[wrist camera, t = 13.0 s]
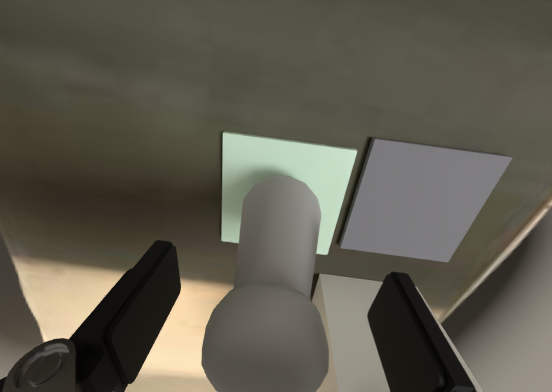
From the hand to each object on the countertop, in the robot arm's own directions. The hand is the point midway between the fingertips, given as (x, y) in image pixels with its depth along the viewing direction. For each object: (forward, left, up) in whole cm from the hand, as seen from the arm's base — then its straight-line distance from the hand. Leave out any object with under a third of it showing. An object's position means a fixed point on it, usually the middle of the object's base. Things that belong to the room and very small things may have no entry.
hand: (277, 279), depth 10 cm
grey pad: (0, +11, -10) cm, 15 cm away
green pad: (+1, 0, -10) cm, 10 cm away
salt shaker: (+1, 0, -9) cm, 9 cm away
